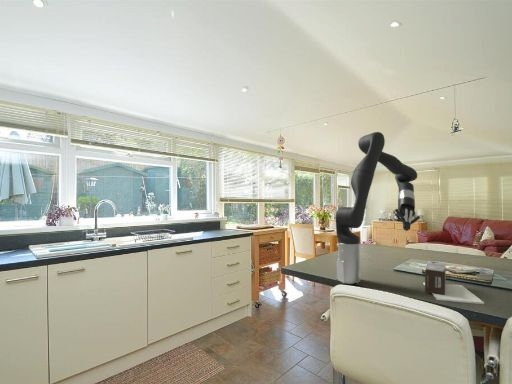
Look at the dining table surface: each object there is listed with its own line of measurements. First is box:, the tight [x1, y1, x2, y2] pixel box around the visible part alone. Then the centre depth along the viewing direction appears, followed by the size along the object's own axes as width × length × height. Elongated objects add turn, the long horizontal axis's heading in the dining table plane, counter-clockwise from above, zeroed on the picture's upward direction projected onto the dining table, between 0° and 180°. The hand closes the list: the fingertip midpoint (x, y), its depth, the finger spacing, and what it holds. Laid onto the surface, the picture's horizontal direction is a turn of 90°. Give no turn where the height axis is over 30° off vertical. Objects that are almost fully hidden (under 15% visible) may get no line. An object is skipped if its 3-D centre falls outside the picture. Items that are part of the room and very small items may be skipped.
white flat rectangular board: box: [422, 281, 485, 305], centre depth 103 cm, size 18×14×1 cm
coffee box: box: [424, 260, 447, 295], centre depth 107 cm, size 9×6×16 cm
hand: (406, 229), depth 127 cm, fingers closed
